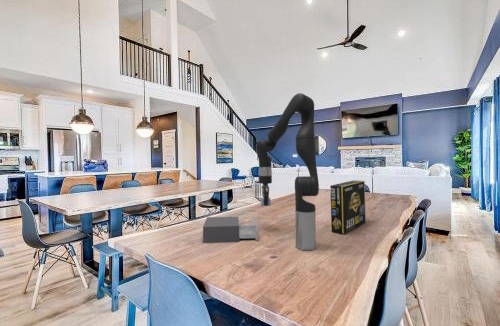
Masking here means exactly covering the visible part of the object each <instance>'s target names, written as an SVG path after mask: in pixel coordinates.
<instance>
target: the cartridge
mask: <svg viewBox="0 0 500 326" xmlns="http://www.w3.org/2000/svg"><path fill="white" fill-rule="evenodd" d="M260 206H261V207H266V206H265V205H264V197H260ZM270 206H271V198H270V197H269V198H268V205H267V207H270Z"/></svg>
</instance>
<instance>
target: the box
mask: <svg viewBox="0 0 500 326" xmlns="http://www.w3.org/2000/svg"><path fill="white" fill-rule="evenodd" d="M365 183H366V182H365V180H349V181H345V182H344V181H343V182H341V183H336V184H332V185H329V186H330V187H329V188H330V218H331V221H330V222H331V232H332V233H336V234H338V235H339V234H341V235H346V234H347V233H349V232H351V231H353V230H355V229H356V228H358V227H360V226H362V225H364V224H365V223H366V222H367V218H366V217H367V216H366V215H367V214H366V213H367V212H366V186H365Z"/></svg>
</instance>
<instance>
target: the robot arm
mask: <svg viewBox="0 0 500 326" xmlns="http://www.w3.org/2000/svg"><path fill="white" fill-rule="evenodd" d="M288 102H289V103H288V104H287V105H286V107H285V109H284V110H283V112H282V114H281V116H280V117H279V119H278V120H277V122H276V123H275V124H274V126H273V127H272V128H271V129H270V130H269V132H268V133H267V137H268V138H267V139H260V140H258V141H257V143H256V146H255V149H256V154H257V157H258V158H257V159H258V183H259V184H262V185H261V193H262V194H261V196H262V198H264V205H265V206H264V207H266V206H267V205H268V198H270V186H269V184H272V182H273V170H272V157H270V156H268V153H270V152H272V151H273V150H274V149H275V148H276V146H277V144H278V141H280V140H281V138H282V137H283V136H284V135H285V134H286V132H287V130H288V127H289V123H290V120H291V118H292V117H293V116H294V115H295V114H296V113H297V114H300V119H301V120H300V121H301V124H300V127H299V128H298V131H297V133H296V136H295V150H296V153H297V155H298V156H299V157H300V159H301V160H302V162H303V163H304V165H305V166H306V168H307V171H308V173H309V176H307V175H306V176H295V180H294V196H295V198H294V199H295V204H294V205H295V209H294V210H295V219H294V221H295V228H294V229H295V248H297V249H298V250H301V251H315V249H316V244H317V243H316V242H317V241H316V205H315V204H314V203H312V202H309V201H307V200H305V199H304V198H303V197H316V196H318V195H319V192H320V191H319V190H320V184H319V176H318V169H317V159H316V157H317V156H316V138H315V122H314V121H315V102H314V100H313V99H312V97H310V96H308V95H306V94H304V93H302V92H301V93H300V92H299V93H296V94H295V95H293V97H292V98H291V100H290V101H288ZM267 207H268V206H267Z"/></svg>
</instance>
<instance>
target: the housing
mask: <svg viewBox="0 0 500 326" xmlns="http://www.w3.org/2000/svg"><path fill="white" fill-rule="evenodd" d="M203 223H204V224H203V226H202V243H203V244H209V243H212V244H213V243H240V239H239V226H240V220H239V216H212V217H211V216H210V217H208V216H207V217H206V219H205V221H204V222H203Z"/></svg>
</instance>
